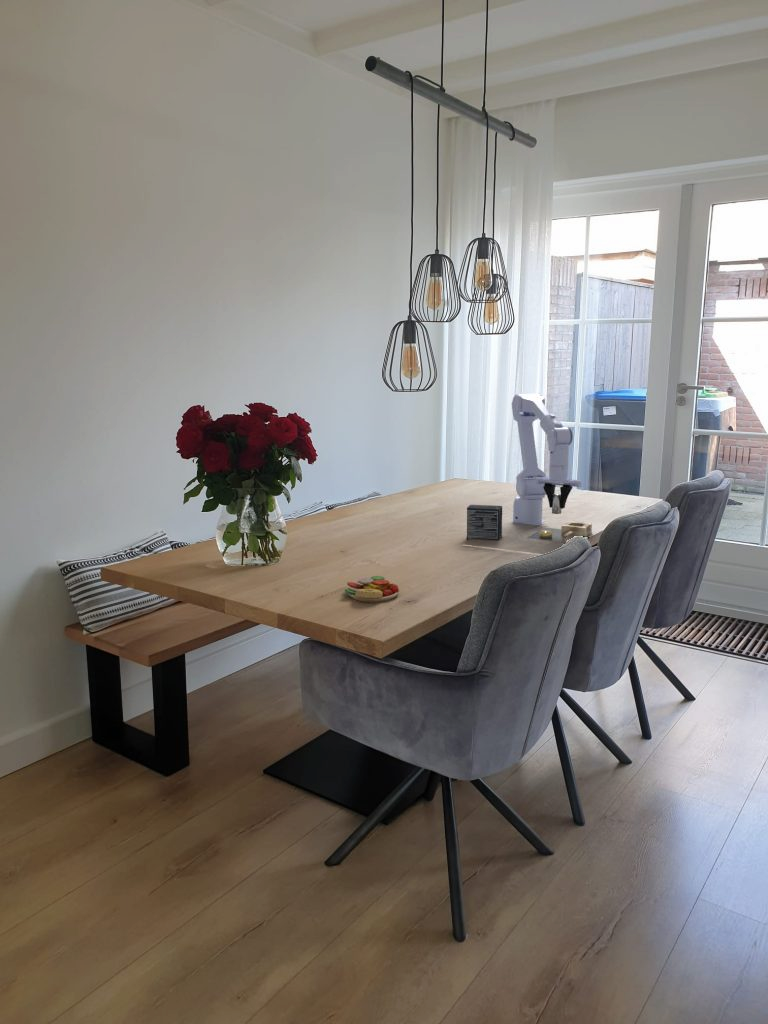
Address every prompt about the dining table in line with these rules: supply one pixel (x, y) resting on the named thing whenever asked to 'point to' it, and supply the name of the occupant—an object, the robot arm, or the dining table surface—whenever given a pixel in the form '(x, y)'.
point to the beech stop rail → (567, 536)
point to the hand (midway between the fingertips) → (557, 507)
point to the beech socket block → (577, 528)
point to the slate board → (555, 535)
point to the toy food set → (372, 589)
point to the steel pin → (556, 504)
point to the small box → (484, 522)
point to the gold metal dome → (545, 534)
